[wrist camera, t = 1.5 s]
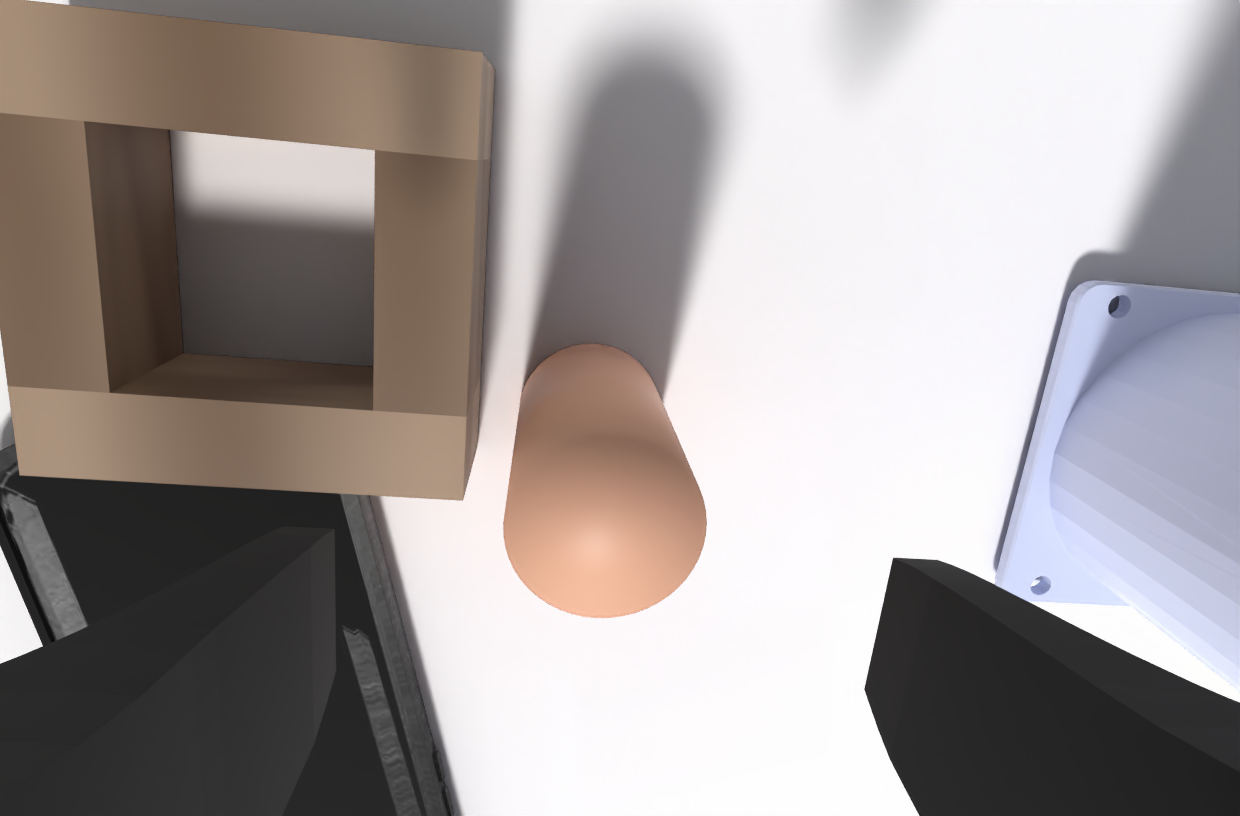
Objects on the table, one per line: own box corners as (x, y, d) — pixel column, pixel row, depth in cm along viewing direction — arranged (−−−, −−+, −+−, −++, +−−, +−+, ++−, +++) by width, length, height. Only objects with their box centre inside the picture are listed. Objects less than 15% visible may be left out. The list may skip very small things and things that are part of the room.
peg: (667, 349, 18) (719, 439, 12) (651, 480, 19) (693, 621, 13) (523, 338, 18) (509, 425, 12) (515, 472, 19) (497, 614, 13)
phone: (182, 972, 21) (-40, 454, 17) (200, 933, 23) (-4, 436, 18) (475, 922, 22) (335, 396, 17) (479, 885, 23) (349, 381, 18)
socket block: (494, 69, 16) (481, 52, 13) (477, 446, 18) (462, 500, 16) (67, 22, 15) (-46, -9, 12) (106, 422, 18) (19, 475, 15)
